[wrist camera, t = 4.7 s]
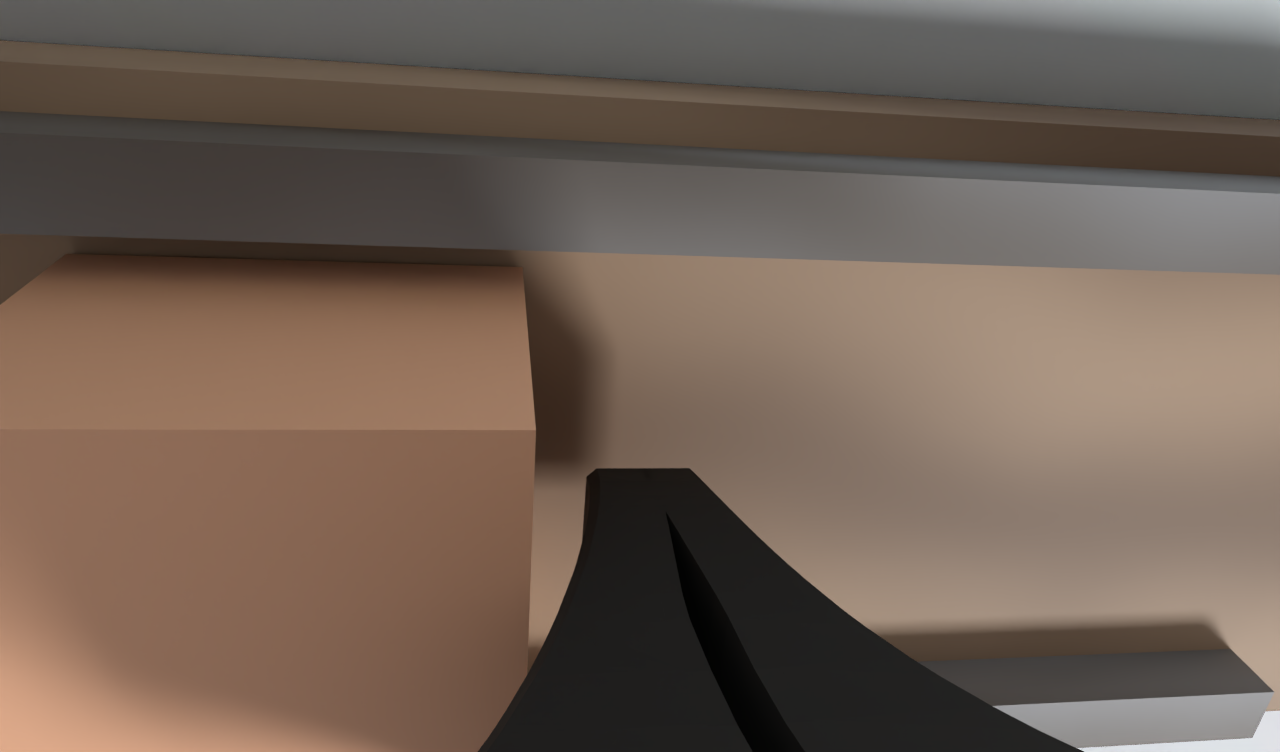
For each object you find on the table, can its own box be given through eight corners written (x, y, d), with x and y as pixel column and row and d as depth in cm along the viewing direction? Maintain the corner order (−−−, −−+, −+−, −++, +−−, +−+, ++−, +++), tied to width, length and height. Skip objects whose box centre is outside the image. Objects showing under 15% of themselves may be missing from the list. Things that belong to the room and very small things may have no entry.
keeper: (512, 656, 14) (517, 916, 10) (145, 670, 13) (12, 957, 9) (522, 267, 11) (535, 430, 8) (66, 253, 10) (-160, 430, 7)
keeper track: (1240, 651, 18) (1589, 992, 12) (-288, 714, 14) (-837, 1271, 8) (1476, 132, 14) (2177, 281, 8) (-616, 2, 10) (-2229, 118, 4)
